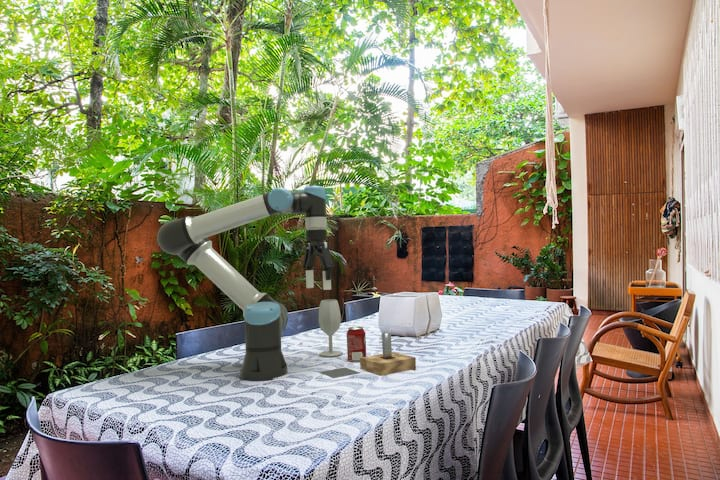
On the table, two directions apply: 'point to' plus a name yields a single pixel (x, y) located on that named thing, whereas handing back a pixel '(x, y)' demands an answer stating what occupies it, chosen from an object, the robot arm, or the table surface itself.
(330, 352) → the wineglass
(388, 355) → the pin
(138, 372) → the table surface
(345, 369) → the mat
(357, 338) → the soda can
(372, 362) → the hole block
